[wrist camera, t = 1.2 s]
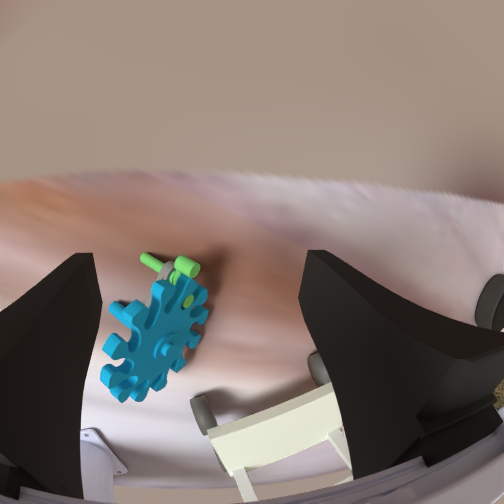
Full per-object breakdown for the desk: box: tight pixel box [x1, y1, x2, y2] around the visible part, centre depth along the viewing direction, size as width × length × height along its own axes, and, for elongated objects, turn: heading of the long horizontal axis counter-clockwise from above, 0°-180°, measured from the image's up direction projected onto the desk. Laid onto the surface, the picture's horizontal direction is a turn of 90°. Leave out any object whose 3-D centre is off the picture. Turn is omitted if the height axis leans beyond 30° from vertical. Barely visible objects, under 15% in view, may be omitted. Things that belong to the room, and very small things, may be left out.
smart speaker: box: [475, 274, 504, 331], centre depth 38 cm, size 9×9×4 cm
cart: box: [190, 352, 353, 502], centre depth 25 cm, size 13×11×12 cm
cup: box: [493, 379, 504, 410], centre depth 44 cm, size 7×7×8 cm
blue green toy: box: [100, 252, 209, 403], centre depth 21 cm, size 11×6×10 cm
